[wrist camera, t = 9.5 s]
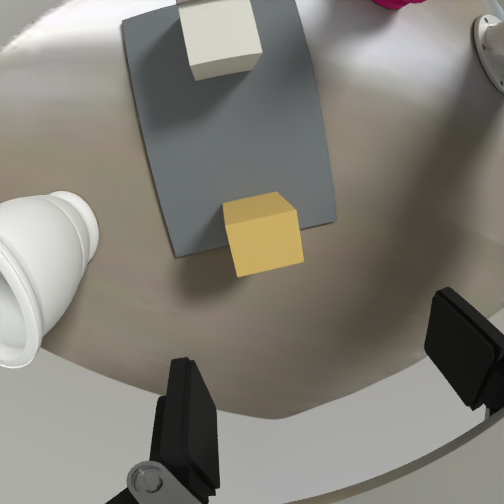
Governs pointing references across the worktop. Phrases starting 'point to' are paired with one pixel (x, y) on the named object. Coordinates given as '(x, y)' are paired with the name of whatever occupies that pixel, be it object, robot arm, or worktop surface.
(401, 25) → the worktop surface
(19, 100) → the worktop surface
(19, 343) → the jar
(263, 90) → the mat
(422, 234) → the worktop surface
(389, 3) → the pepper mill
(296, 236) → the stub
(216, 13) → the ticket
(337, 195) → the worktop surface
